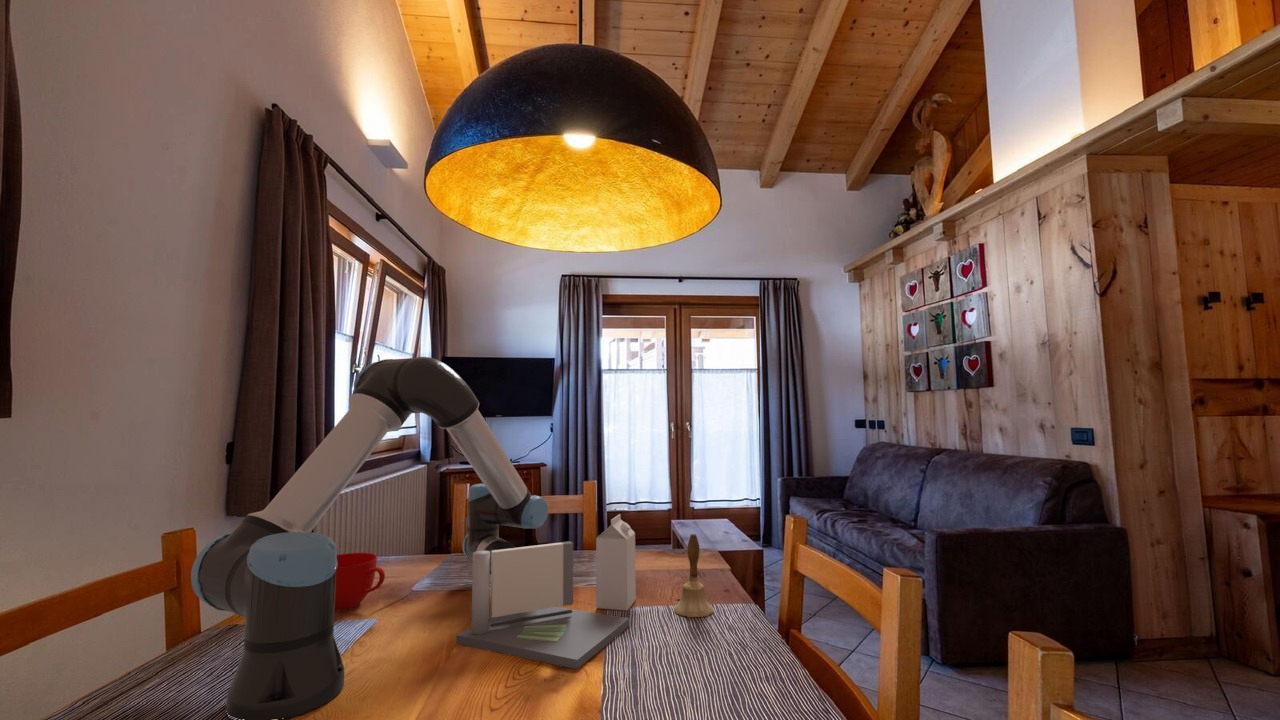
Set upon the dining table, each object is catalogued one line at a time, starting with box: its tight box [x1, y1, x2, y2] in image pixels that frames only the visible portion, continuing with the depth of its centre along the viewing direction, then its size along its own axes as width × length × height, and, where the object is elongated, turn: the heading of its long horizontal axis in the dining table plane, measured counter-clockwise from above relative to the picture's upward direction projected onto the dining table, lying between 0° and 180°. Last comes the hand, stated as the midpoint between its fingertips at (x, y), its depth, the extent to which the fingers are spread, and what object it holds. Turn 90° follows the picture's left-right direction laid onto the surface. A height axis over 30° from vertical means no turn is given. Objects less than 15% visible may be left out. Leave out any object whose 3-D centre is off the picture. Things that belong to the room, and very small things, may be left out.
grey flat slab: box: [455, 606, 630, 670], centre depth 106 cm, size 20×26×2 cm
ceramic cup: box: [334, 552, 386, 612], centre depth 123 cm, size 13×17×10 cm
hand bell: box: [674, 533, 714, 618], centre depth 119 cm, size 8×8×16 cm
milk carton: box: [595, 513, 637, 611], centre depth 123 cm, size 7×7×19 cm
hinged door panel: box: [471, 540, 574, 635], centre depth 108 cm, size 20×3×14 cm, turn 116°
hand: (541, 580), depth 111 cm, fingers closed
